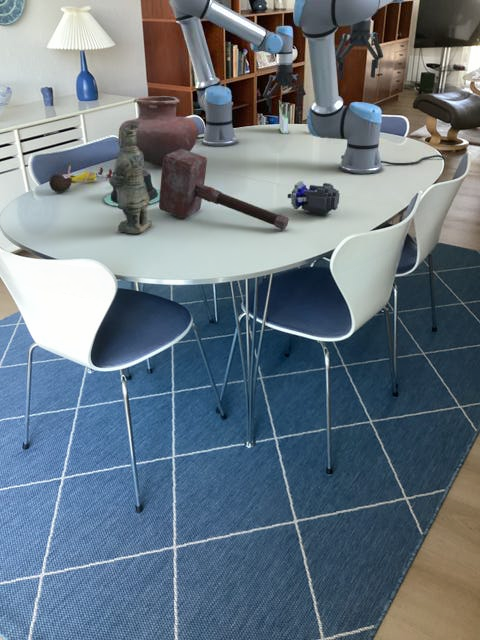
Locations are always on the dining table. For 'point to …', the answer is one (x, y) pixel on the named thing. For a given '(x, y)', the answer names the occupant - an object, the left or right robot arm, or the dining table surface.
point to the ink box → (283, 120)
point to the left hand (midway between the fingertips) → (284, 111)
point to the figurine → (74, 179)
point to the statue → (131, 182)
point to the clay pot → (162, 128)
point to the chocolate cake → (152, 192)
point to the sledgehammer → (200, 190)
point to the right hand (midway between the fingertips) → (356, 78)
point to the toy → (315, 198)
